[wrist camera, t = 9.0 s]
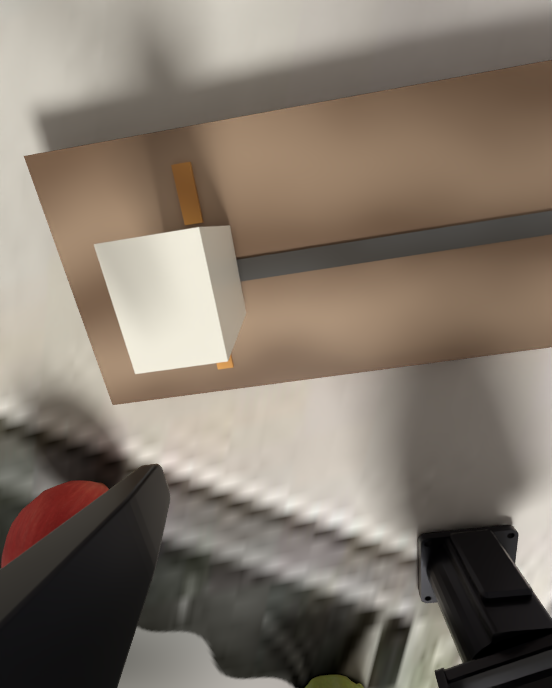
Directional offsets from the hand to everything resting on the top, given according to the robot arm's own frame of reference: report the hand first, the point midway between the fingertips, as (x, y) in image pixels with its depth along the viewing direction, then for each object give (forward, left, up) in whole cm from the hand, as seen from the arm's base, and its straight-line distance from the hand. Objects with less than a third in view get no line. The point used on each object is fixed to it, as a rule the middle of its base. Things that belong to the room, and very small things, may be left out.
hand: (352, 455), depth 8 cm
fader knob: (+3, +5, -9) cm, 11 cm away
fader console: (+3, -1, -12) cm, 12 cm away
